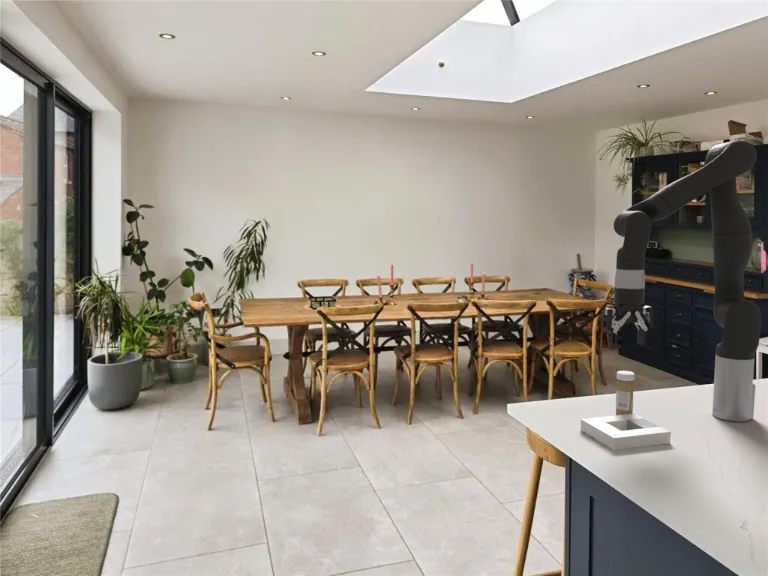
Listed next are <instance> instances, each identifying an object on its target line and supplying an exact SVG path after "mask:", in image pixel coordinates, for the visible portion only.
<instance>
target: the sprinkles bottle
mask: <svg viewBox="0 0 768 576" xmlns="http://www.w3.org/2000/svg"><path fill="white" fill-rule="evenodd" d="M635 379H636V377H635V372H633V371H629V370H618V371H617V372H616V392H615V393H616V394H615V395H616V397H615V416H616V415H626V414H634V413H633V411H634V381H635Z"/></svg>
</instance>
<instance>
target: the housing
mask: <svg viewBox="0 0 768 576" xmlns="http://www.w3.org/2000/svg"><path fill="white" fill-rule="evenodd" d="M580 431H581V432H583V433H584V432H585V433H584V434H586V435H587V436H590V437H592V439H595V440H597V441H598V442H600V443H601V444H603V445H604V446H606V447H608V448H609V449H611V450H613V451H617V450H623V449H624V450H625V448H627V449H633V448H634V447H635V448H642V447H653V446H659V445H667V444H671V434H672V433H671V432H672V431H671V430H669V429H666V428H664V427H663V426H661V425H657V424H656V423H653V422H651V421H649V420H647V419H646V418H644V417H641V416H639V415H637V414H635V413H632V414H626V415H616V414H615V415H607V416H599V417H597V416H596V417H589V418H581V419H580ZM635 448H634V449H635Z"/></svg>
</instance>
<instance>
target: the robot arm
mask: <svg viewBox="0 0 768 576" xmlns="http://www.w3.org/2000/svg"><path fill="white" fill-rule="evenodd" d="M757 156H758V155H757V150H756V148H755V146H754V145H753V144H752V143H750V142H748V141H746V140H732V141H728V142H724V143H723V142H722V143H719V144H716V145H714V146H712V147H711V148H710V149H709V150H708V151H707V154H706V156H705V165H704V166H702V167H701V168H699V169H698V170H695V171H694V172H692V173H690V174H687V175H685V176H683V177H682V178H679V179H677V180H675V181H673V182H671V183H670V184H668V185H666V186H664V187H663V188H661V189H660V190H658V191H657V192H655V193H654V194H652V195H651V196H649V197H648V198H646V199H645V200H643V201H640V202H638V203H637V204H634V205H632V206H630V207H629V208H626V209H624V210H623V211H621V212H620V213H619V214H617V216H616V217H615V219H614V221H613V229H614V232H615V233H616V234H617V235H618V236H620V237H623V244H622V246H621V247H620V248H619V249H617V252H616V261H615V262H616V263H615V265H616V266H615V267H616V268H615V274H614V287H613V289H614V290H613V302H614V307H613V308H611V307H610V308H609V307H604V308H603V312H602V323H601V329H602V330H604V331H607V332H608V344H609V346H611V347H617V346H618V331H619V329H620V328H623V326H624V325H625V324H626V325H629V324H634V325H635V327H636V328H637V332H636V333H637V334H636V343H637V344H638V345H642V346H644V344H645V343H646V341H647V331H648V330H649V329H652V328H654V307H653V306H649V305H644V306H643V304H644V302H645V285H646V274H645V266H646V265H645V264H646V263H645V262H646V251H647V249H648V246H649V241H650V237H651V234H652V223H654V222H658V221H662V220H665V219H666V218H668V217H670V216H672V215H673V214H675V213H676V212H677V211H679V210H680V209H682V208H683V207H685V206H686V205H688V204H690V203H691V202H692V201H695V200H696V199H698V198H699V197H700V196H702V195H704V194H705V193H707V192H709V198H710V213H711V236H712V237H711V238H712V239H711V240H712V252H713V268H714V293H713V294H714V297H713V310H712V311H713V312H712V313H713V318H714V320H715V322H716V324H717V325H718V326H719V327H721V328H723V334H722V336H723V337H722V340H721V342H720V343H717V345H716V346H715V347H716V348H715V359H714V375H713V376H714V379H713V393H712V413H711V414H712V416H713V417H715V418H718V419H720V420H724V421H729V422H739V423H743V422H750V420H751V419H754V415H755V414H754V412H755V399H756V397H755V396H756V385H755V383H754V370H755V368H754V366H755V356H756V351H757V350H758V348H759V344H760V337H761V328H762V313H761V309H760V307H759V306H758V305H757V304H756V303H754V302H752V301H750V300H747V299H745V291H744V290H745V289H744V276H745V271H746V269H747V266H748V264H749V260H750V258H751V254H752V249H753V245H752V244H753V243H752V242H753V241H752V240H753V237H752V235H753V234H752V224H751V222H750V218H749V216H748V214H747V212H746V211H745V209H744V207H743V205H742V203H741V201H740V199H739V196H738V190H737V187H738V186H737V177H740V176H741V175H744V174H746V173H749V172H750V170H751V169H752V168H754V166H755V164H756V162H757V158H758V157H757ZM642 314H643V317H642Z"/></svg>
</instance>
